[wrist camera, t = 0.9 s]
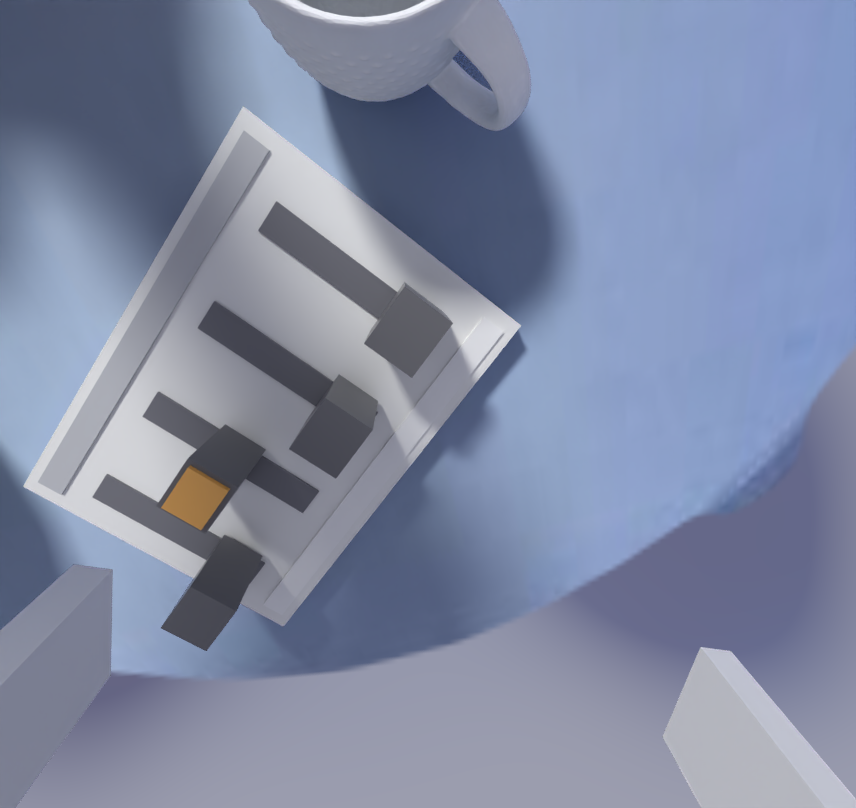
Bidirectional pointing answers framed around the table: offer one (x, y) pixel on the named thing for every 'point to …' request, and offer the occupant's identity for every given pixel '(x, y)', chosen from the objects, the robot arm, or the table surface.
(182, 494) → the breaker
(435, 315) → the breaker
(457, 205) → the table surface
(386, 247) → the panel
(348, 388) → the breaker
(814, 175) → the table surface
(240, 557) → the breaker
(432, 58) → the mug
